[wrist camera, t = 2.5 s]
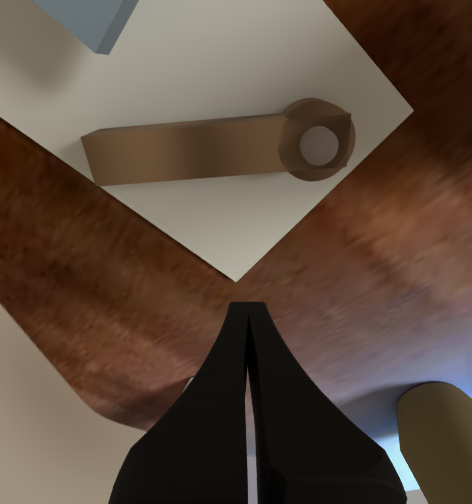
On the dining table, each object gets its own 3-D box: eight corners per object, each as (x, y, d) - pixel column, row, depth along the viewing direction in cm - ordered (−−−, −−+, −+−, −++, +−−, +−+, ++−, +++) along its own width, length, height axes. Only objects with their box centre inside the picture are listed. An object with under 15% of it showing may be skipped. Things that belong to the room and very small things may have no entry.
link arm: (343, 94, 16) (365, 100, 13) (338, 165, 18) (356, 183, 15) (96, 116, 17) (68, 126, 14) (114, 183, 18) (92, 203, 16)
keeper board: (408, 109, 17) (475, 124, 12) (236, 277, 23) (235, 333, 18) (66, -301, 11) (-70, -593, 6) (-59, 69, 17) (-182, 68, 12)
